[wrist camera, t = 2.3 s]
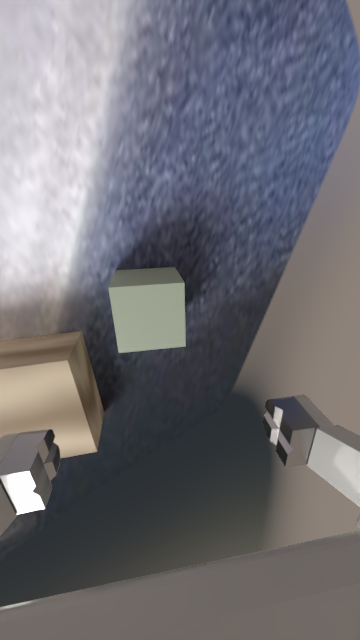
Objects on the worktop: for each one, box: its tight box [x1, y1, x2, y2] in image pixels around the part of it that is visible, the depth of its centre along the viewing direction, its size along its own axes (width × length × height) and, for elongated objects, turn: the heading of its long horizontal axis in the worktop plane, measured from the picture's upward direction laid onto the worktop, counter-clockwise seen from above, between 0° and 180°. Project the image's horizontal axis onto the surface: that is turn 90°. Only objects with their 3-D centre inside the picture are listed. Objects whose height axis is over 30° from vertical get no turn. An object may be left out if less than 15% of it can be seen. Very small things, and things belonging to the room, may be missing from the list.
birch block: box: [0, 331, 104, 458], centre depth 21 cm, size 10×10×5 cm
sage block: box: [108, 267, 186, 353], centre depth 19 cm, size 5×5×5 cm
